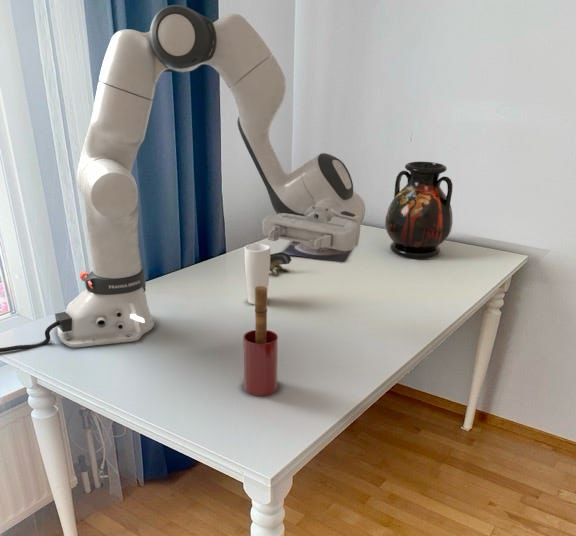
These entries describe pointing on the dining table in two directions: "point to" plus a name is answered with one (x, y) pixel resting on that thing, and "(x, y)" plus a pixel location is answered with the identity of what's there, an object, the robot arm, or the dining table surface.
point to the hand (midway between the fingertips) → (291, 240)
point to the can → (260, 364)
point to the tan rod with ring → (260, 315)
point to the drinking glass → (256, 268)
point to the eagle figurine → (279, 261)
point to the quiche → (316, 252)
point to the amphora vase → (420, 212)
